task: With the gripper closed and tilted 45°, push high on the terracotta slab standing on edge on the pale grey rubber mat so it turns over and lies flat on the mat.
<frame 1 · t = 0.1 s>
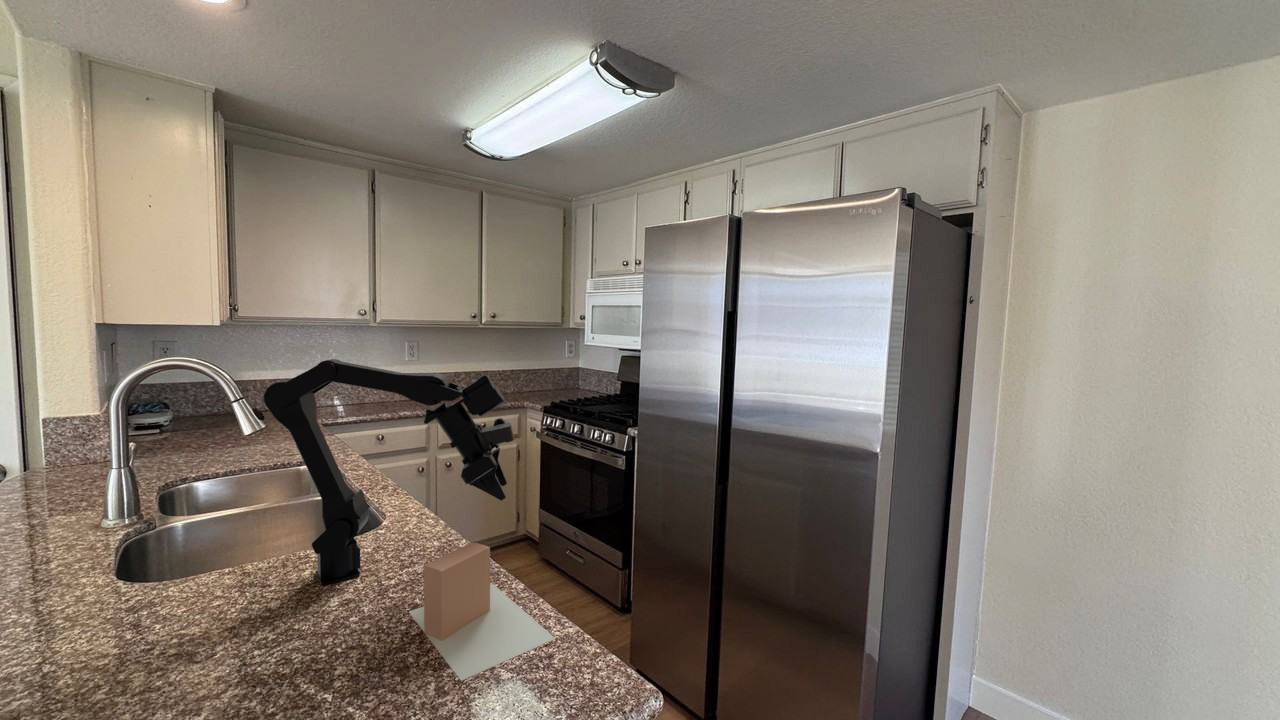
hand: (504, 491, 106), 15 cm above the worktop, tool tilted 35°, fingers open, 9 cm apart
rubber mat: (479, 627, 84), on the worktop
terracotta slab: (458, 621, 85), resting on rubber mat
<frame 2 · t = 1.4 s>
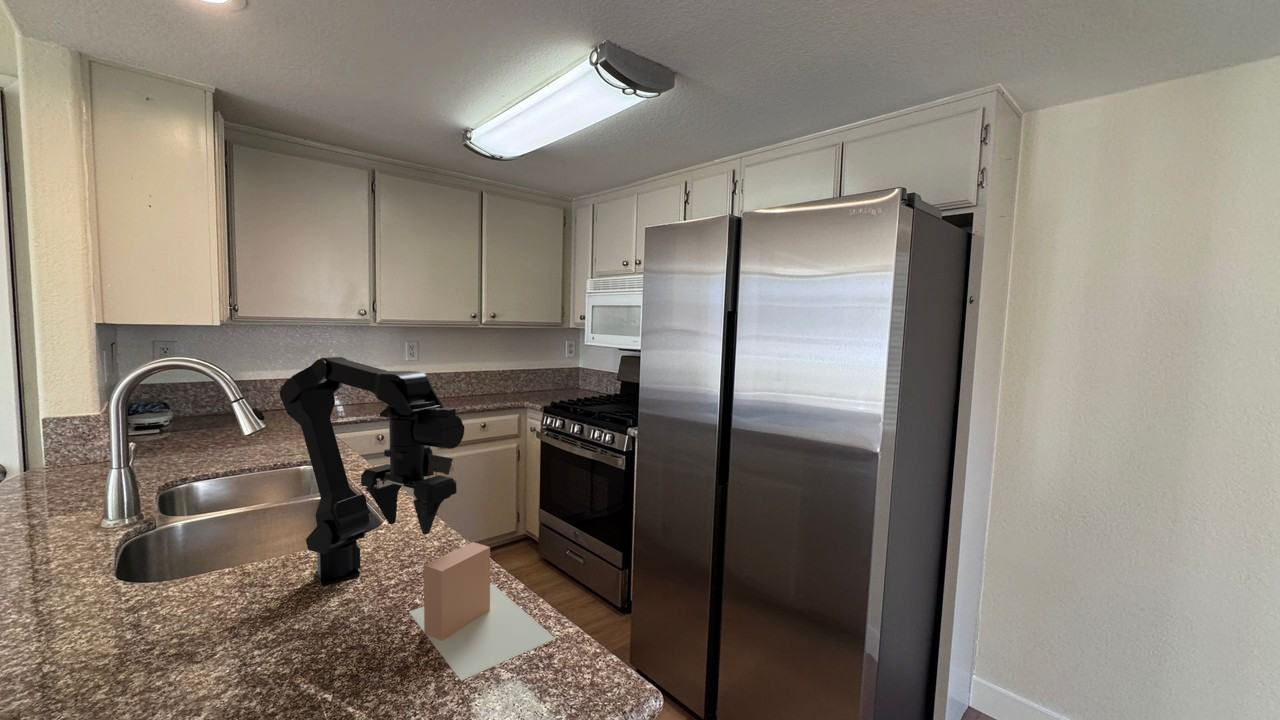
hand: (408, 528, 93), 12 cm above the worktop, tool pointing down, fingers open, 9 cm apart
nothing on the worktop moved.
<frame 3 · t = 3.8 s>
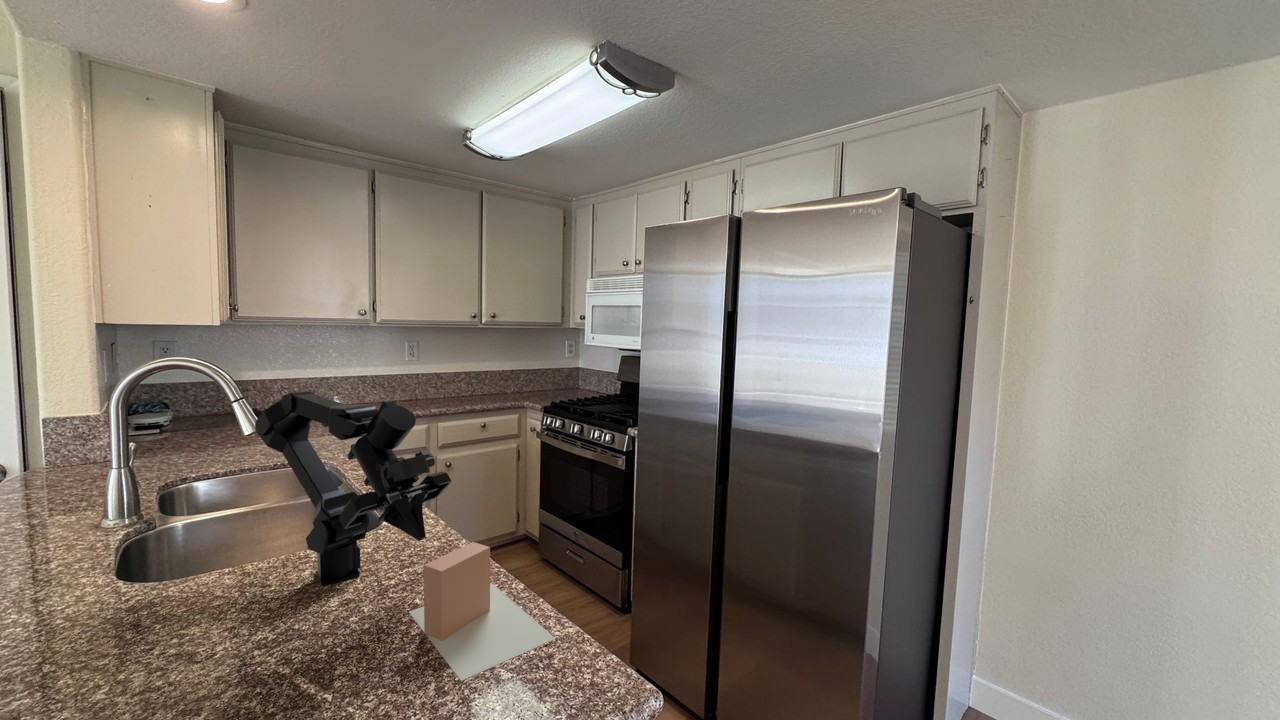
hand: (422, 538, 88), 12 cm above the worktop, tool tilted 45°, fingers closed
nothing on the worktop moved.
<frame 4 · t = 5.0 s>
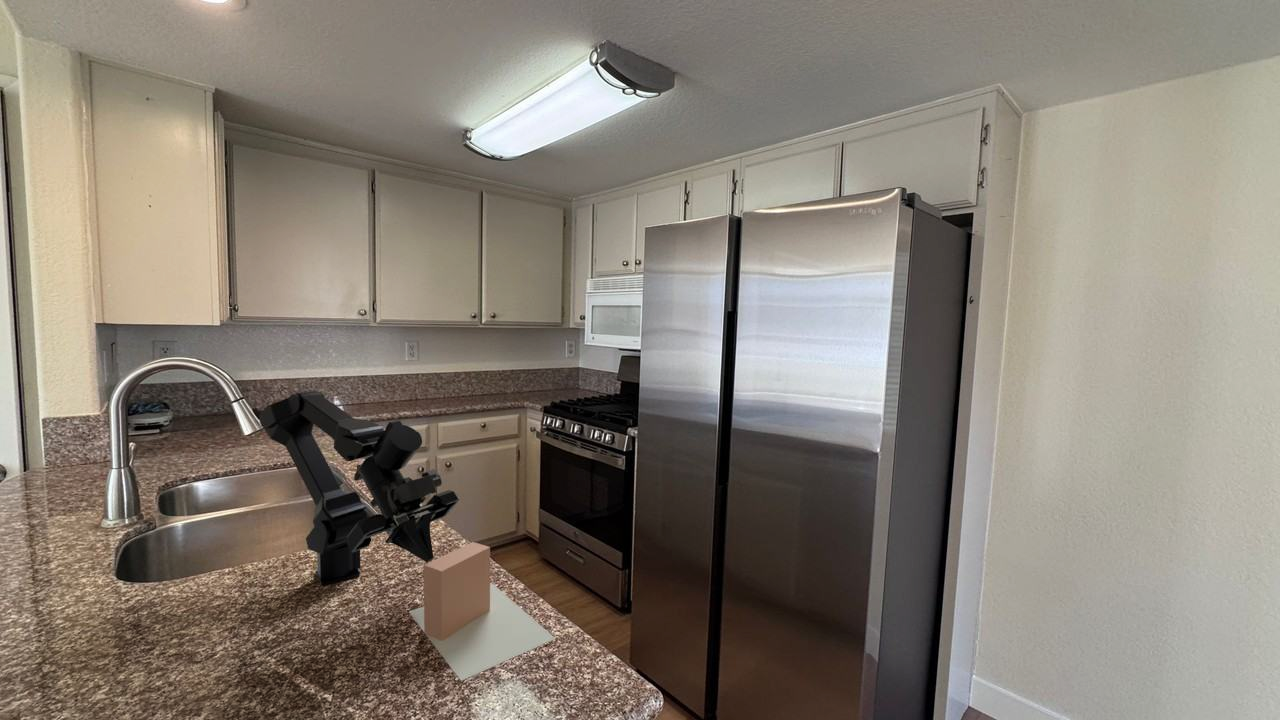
hand: (430, 560, 87), 9 cm above the worktop, tool tilted 45°, fingers closed
nothing on the worktop moved.
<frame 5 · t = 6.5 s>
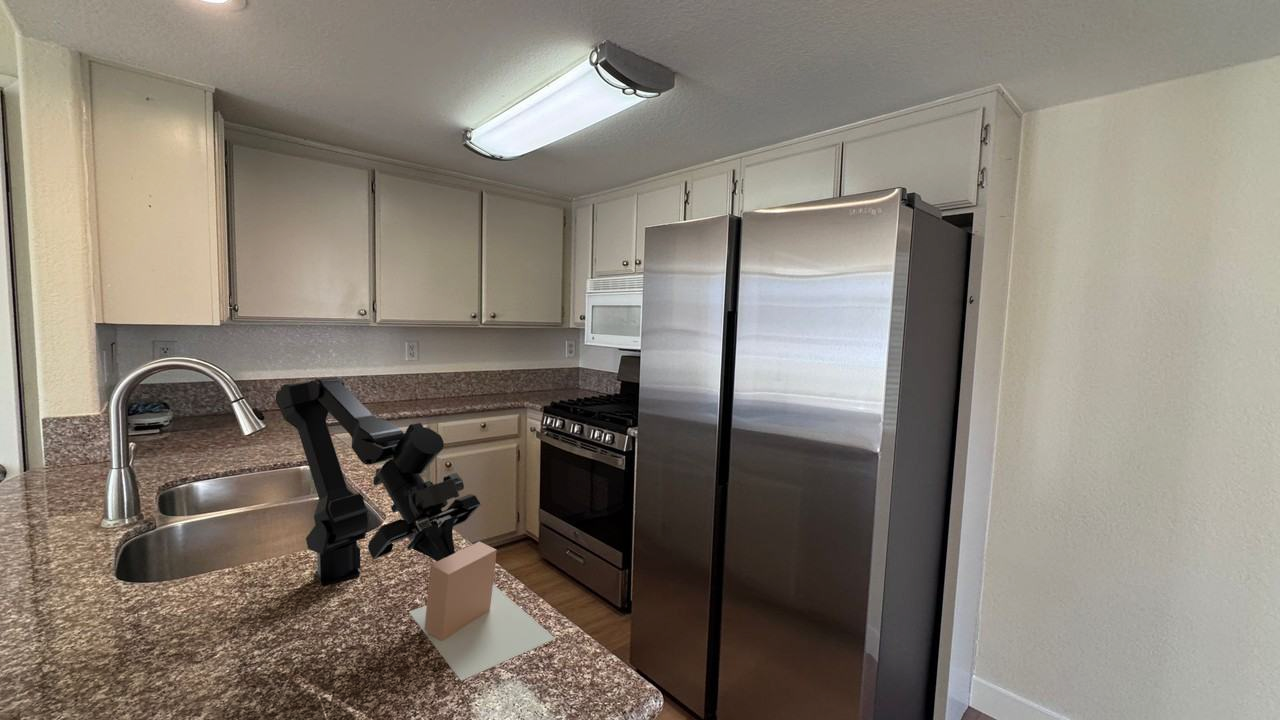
hand: (453, 566, 84), 9 cm above the worktop, tool tilted 45°, fingers closed
terracotta slab: (458, 619, 85), point 1 cm above the worktop, tilted 8°, touching rubber mat
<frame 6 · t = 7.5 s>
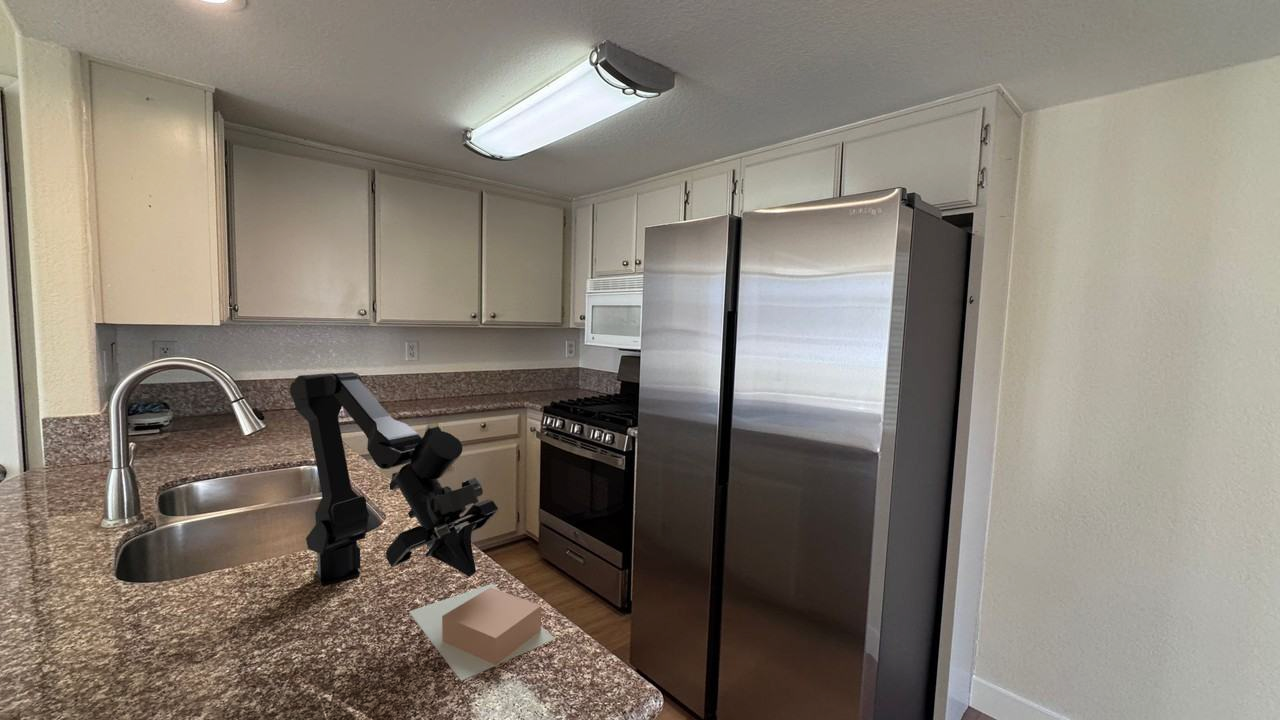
hand: (472, 574, 82), 9 cm above the worktop, tool tilted 45°, fingers closed
terracotta slab: (467, 612, 83), point 2 cm above the worktop, tilted 90°, touching rubber mat
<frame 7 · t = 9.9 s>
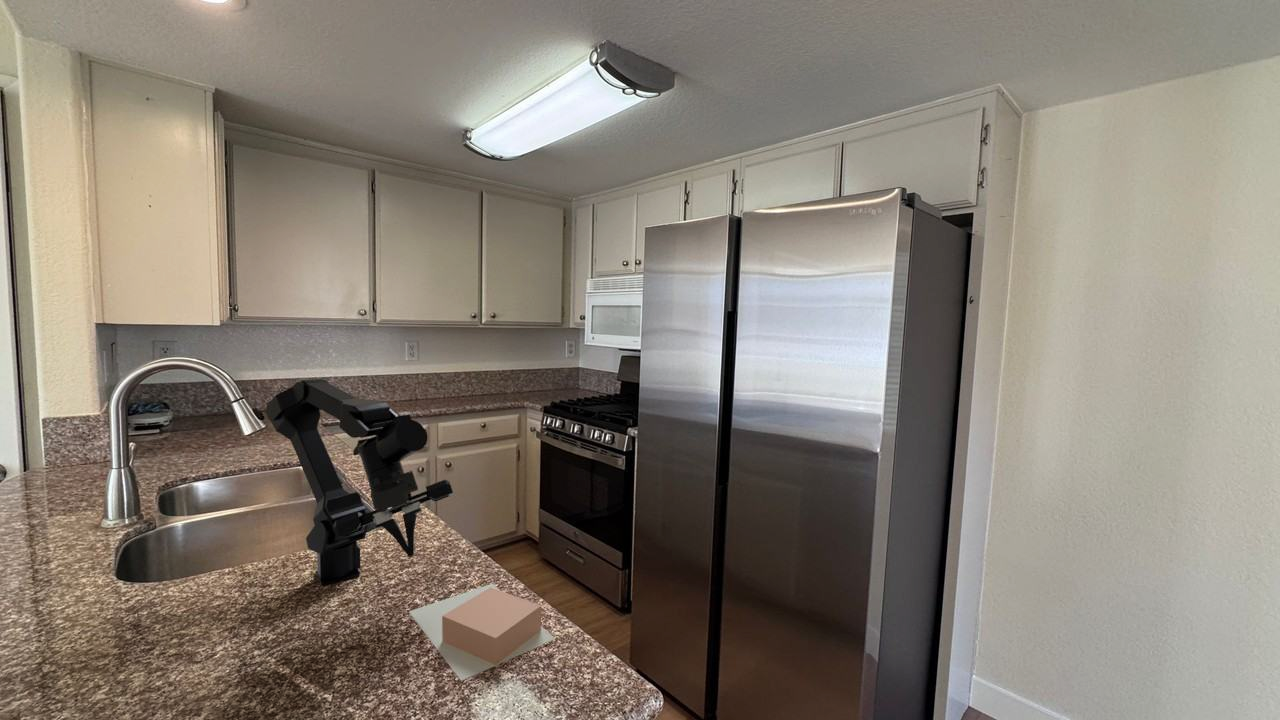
hand: (411, 556, 89), 9 cm above the worktop, tool tilted 25°, fingers closed
nothing on the worktop moved.
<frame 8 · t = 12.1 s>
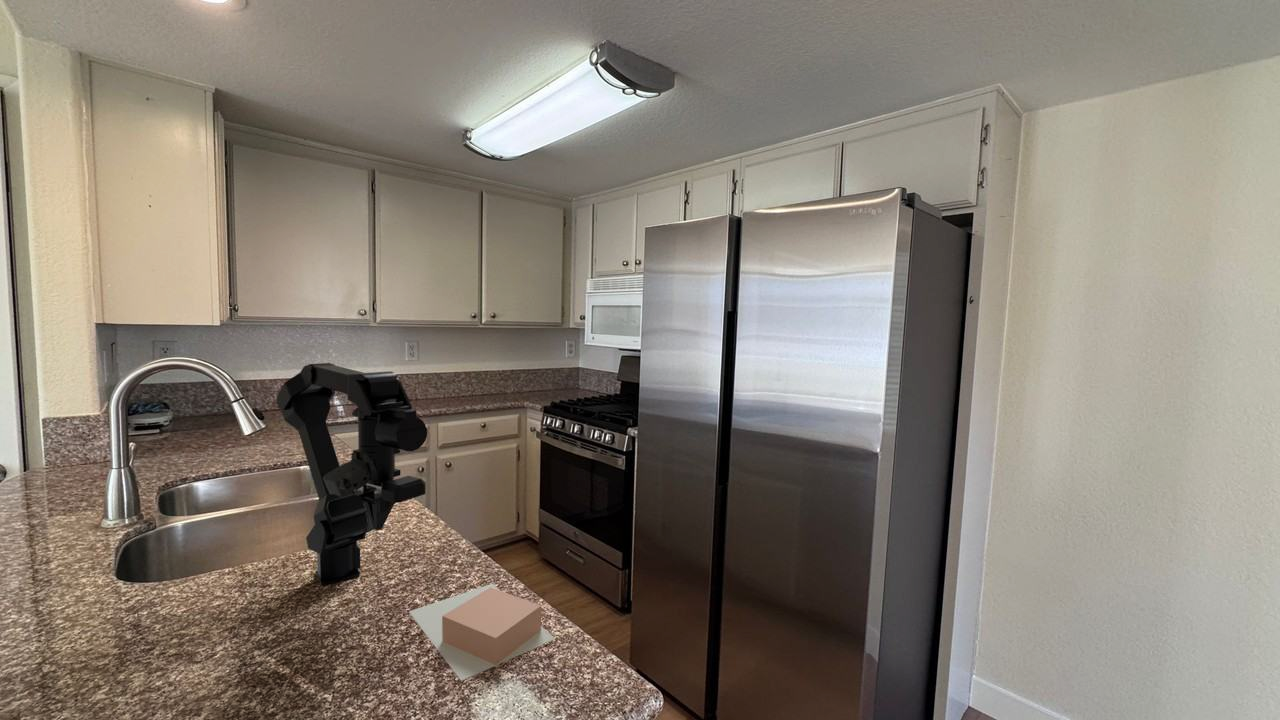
hand: (378, 529, 92), 12 cm above the worktop, tool pointing down, fingers closed
nothing on the worktop moved.
at the end: terracotta slab tilted 90°; terracotta slab inside the target area on the rubber mat (1.9 cm from its centre), point 2.5 cm above the rubber mat's base; the gripper is holding nothing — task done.
